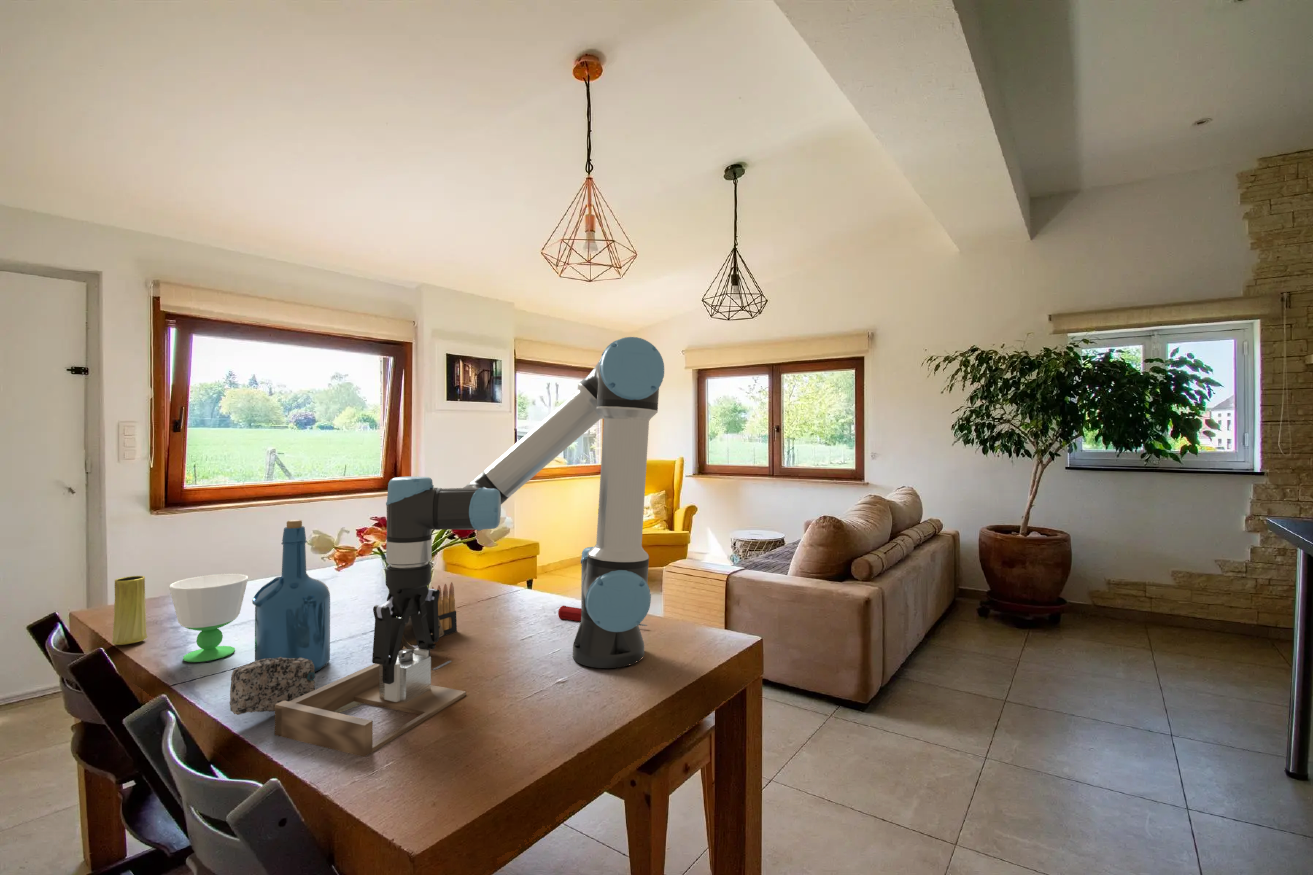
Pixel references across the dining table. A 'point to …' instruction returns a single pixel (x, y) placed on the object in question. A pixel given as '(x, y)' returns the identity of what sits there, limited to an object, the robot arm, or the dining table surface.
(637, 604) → the robot arm
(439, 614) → the ammunition clip
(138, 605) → the vase
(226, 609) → the cup
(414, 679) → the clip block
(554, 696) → the dining table surface
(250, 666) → the rock
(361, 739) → the wooden shallow box
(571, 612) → the screwdriver
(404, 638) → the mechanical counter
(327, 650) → the wine bottle
